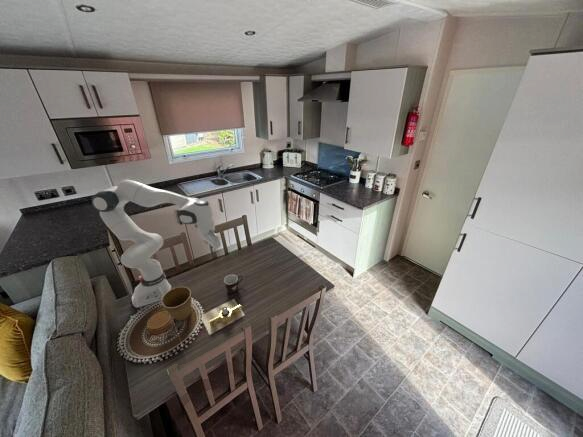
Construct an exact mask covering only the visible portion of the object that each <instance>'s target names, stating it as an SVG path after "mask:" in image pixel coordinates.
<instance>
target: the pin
mask: <svg viewBox="0 0 583 437" xmlns="http://www.w3.org/2000/svg"><path fill="white" fill-rule="evenodd" d="M222 313H223V316H227V315H229V314H228V309H227V307H223V308H222Z"/></svg>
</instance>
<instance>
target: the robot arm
mask: <svg viewBox="0 0 583 437" xmlns="http://www.w3.org/2000/svg"><path fill="white" fill-rule="evenodd" d="M131 202H132V203H134V204H136V205H138V206H141V207H145V208H152V207H156V206H159V205H162V204H174V205H177V206H180V209H179V210H178V211H177V212H176V217H177V220H178V221H179V222H180V223H181V224H183V225H194V227H195V229H196V233H197V235H198V237H200V238H201V239H202V241H203V242H204V243H203V244H204V245H205V246H207V245H210V246H211V247H212V248H211V249H212V252H213V253H215V252H217V251H218V250H217V249H218V248H220V247H221V240H220V237H219V236H218V234H217V233H215V230H216V227H215V221H214V219H213V211H212V207H211V205H210V203H209V202H208V201H207V200H206V199H200V198H197V197H190V196H186V195H183V194H180V193H176V192H173V191H170V190H167V189H160V188H156V187H152V186H150V185H147V184H144V183H142V182H139V181H135V180H133V179H123V180H121V181H120V182H119V183H118V184H117V185H115V186H110V187H108V188H106V189H104V190H101V191H98V192H97V193H95V194H94V195H93V196H92V198H91V204H92V206H93V208H94V209H96V211H98V212H99V216H100V218H101V220H102V222H103V223H104V224H105V226H106V227H107V228H108V229H109V230H110V231H111V232H112V233H113V235H115V236H116V238H117V239H118V240H121V241H132V242H134V244H133V245H131V246H130V247H129V248H127V249H125V251H124V252H123V253H122V255H121V256H120V262H121V263H122V265H123V266H124V267H126V268H129V269H137V270H138V271H139V273H140V275H139V276H137V277H138V278H137V279H138V280H139V284H138V285H137V286H135V288H134V289H133V290H134V291H133V294H132V296H131V302H132V305H133V306H134V308H137V309H138V308H141V307H144V306H147V305H150V304H151V305H152V304H154V303H158V302H161V301H162V298H163V296H164V295H165V294H166V293H167V292H168V291H170V290H171V289H172V285H171V284H170V283H169V281H168V280H167V278H166V274H165V271H164V270H163V269H162V265H161V263H160V261H159V260H157V259H155V258H151V257H152V256H153V255H154V254H156V253H157V252H158V251H159V250H160V249H161V248H162V246H163V245H164V238H163V236H161V235H160V234H158V233H155V232H148V231H146V230H143V229H142V228H140V227H139V226H138V225H137V224H136V223H135V222H134V221H133V220H132V218H131V217H130V216H129V215H128V214H127V213H126V212H125V209H124V207H128V206H129V204H130V203H131ZM160 300H161V301H160ZM157 301H158V302H157Z"/></svg>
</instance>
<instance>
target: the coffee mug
mask: <svg viewBox="0 0 583 437" xmlns="http://www.w3.org/2000/svg"><path fill="white" fill-rule="evenodd" d="M239 279H240V280H239ZM242 280H243V275H239V276H237V275H236V274H229V275H226V276H225V277H224V278H223V282H224V285H225V288H226V291H227V293H229V294H236V293H237V292H238V289H239V288H238V287H239V286H238V285H239V284H240V283H241V282H242Z"/></svg>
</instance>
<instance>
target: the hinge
mask: <svg viewBox="0 0 583 437" xmlns="http://www.w3.org/2000/svg"><path fill="white" fill-rule="evenodd" d="M227 309H228V314H229V315H227V316H223V313H222V310H221V311H220V313H219V316H218V317H216V318H214V319H212V320H210V321H209V322H210V326H211V328H212V327H214V326H216V325H217V324H219V323H221V322H222V323H223V324H228V323H229V322H231V321H232V318H233V316H234V315H236V314H238V313H239V312H241V311H242V312H243V310H242V305H241V304H238V306H236V307H235V308H233V309H231V310H230V309H229V308H227ZM228 325H229V324H228Z"/></svg>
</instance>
